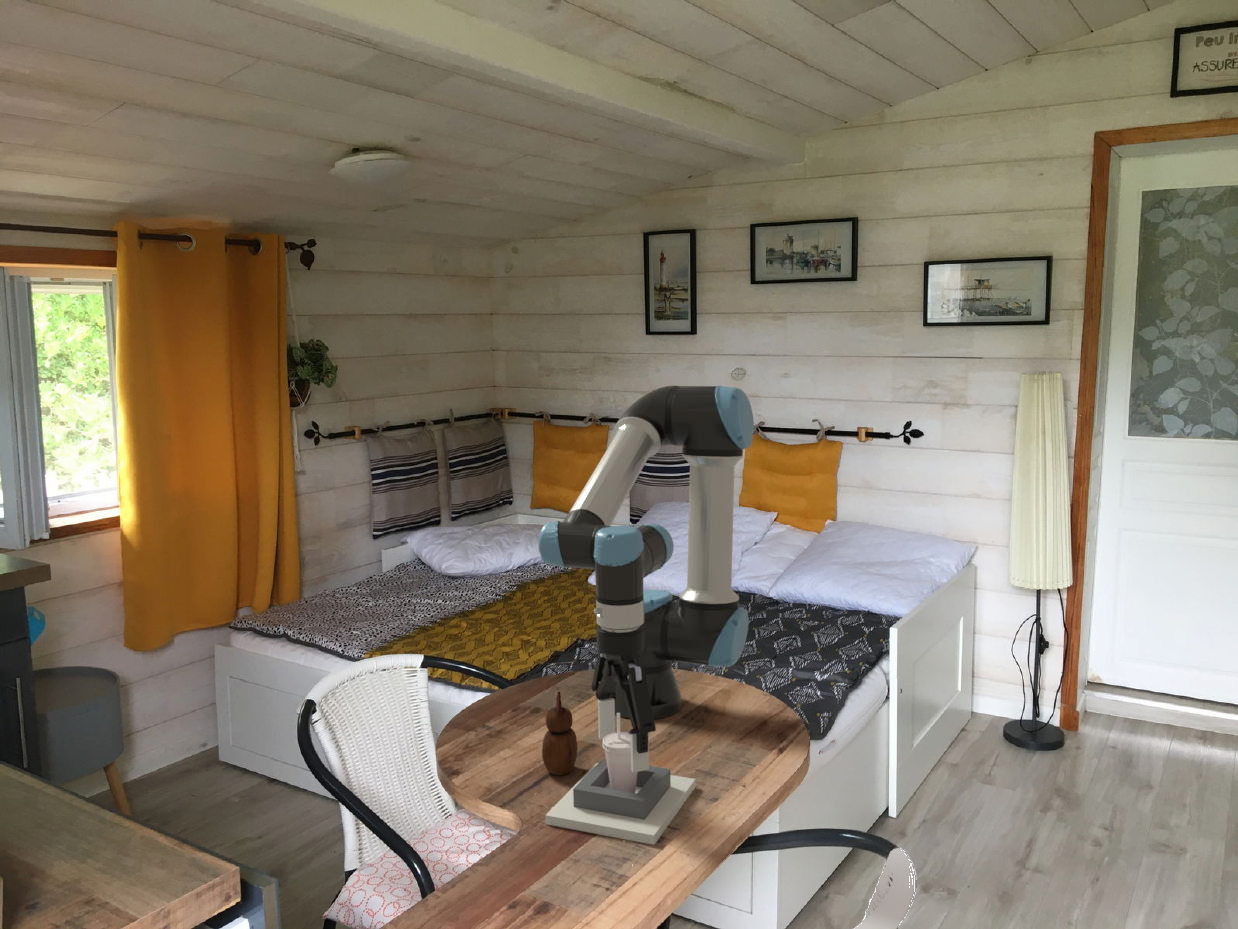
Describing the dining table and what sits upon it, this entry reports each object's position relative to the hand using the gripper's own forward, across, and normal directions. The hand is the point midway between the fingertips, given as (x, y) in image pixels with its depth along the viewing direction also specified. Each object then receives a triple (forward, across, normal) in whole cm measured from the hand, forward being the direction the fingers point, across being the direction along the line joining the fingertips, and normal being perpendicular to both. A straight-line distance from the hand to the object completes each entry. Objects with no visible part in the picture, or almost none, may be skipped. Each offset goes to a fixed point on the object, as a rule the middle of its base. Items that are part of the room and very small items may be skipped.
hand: (622, 753), depth 164 cm
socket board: (+9, 0, 0) cm, 9 cm away
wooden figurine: (+9, -16, -5) cm, 19 cm away
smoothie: (+7, 0, 0) cm, 7 cm away
